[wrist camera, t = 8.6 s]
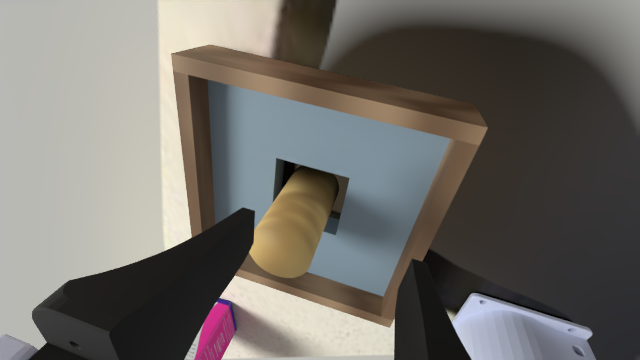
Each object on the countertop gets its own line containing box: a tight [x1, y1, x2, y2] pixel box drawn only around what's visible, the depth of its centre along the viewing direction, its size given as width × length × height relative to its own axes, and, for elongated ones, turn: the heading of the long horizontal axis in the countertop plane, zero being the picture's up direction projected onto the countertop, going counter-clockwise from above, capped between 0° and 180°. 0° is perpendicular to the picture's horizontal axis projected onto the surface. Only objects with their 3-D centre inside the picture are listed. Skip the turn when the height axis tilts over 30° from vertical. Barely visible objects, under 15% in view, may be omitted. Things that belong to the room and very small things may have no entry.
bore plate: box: [208, 80, 450, 296], centre depth 24 cm, size 16×16×2 cm
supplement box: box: [184, 299, 237, 360], centre depth 34 cm, size 6×6×12 cm
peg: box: [249, 165, 339, 278], centre depth 21 cm, size 4×4×8 cm
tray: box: [171, 45, 488, 328], centre depth 23 cm, size 18×18×4 cm
